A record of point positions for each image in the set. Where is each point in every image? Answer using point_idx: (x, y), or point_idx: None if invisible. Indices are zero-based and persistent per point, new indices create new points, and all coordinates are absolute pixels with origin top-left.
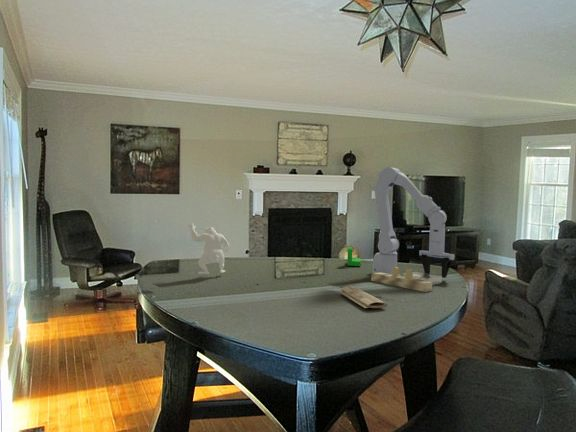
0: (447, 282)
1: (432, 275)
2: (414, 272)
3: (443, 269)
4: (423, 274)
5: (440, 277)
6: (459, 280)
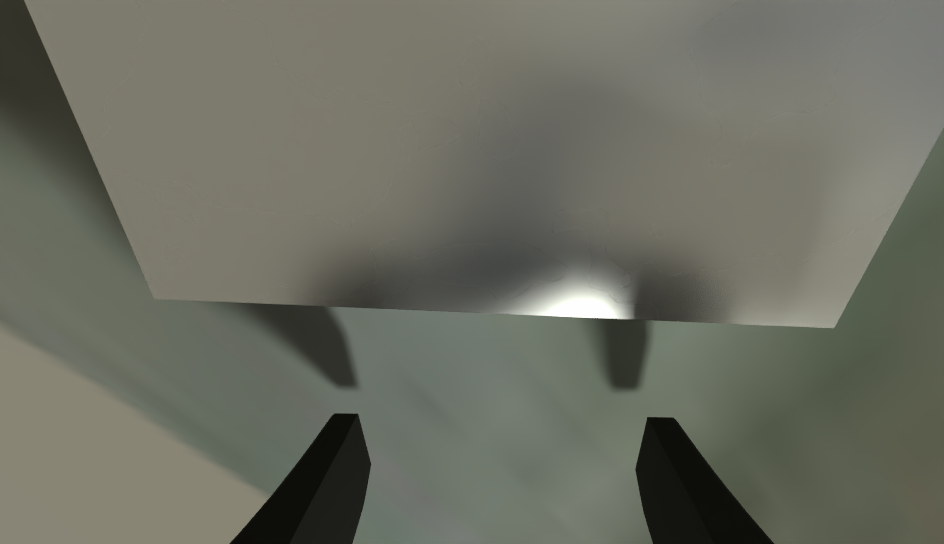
0: (273, 361)
1: (337, 262)
2: (838, 233)
3: (255, 532)
4: (532, 196)
5: (142, 252)
6: None
